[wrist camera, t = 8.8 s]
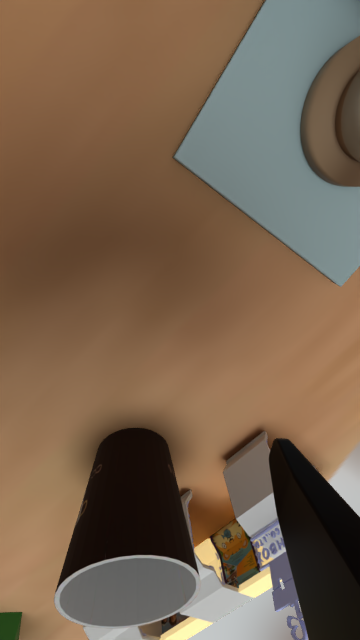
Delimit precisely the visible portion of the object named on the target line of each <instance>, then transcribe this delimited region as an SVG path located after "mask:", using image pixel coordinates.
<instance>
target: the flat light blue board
mask: <svg viewBox="0 0 360 640" xmlns="http://www.w3.org/2000/svg"><path fill="white" fill-rule="evenodd" d="M359 36H360V0H265V1H264V3H263V5H262V6H261V8H260V10H259V11H258V13H257V15H256V17H255V18H254V20H253V22H252V23H251V25H250V27H249V28H248V30H247V32H246V34H245V35H244V37H243V39H242V40H241V42H240V44H239V46H238V47H237V49H236V51H235V52H234V54H233V56H232V57H231V59H230V61H229V63H228V64H227V66H226V68H225V69H224V71H223V73H222V75H221V76H220V78H219V80H218V81H217V83H216V85H215V86H214V88H213V90H212V92H211V93H210V95H209V97H208V98H207V100H206V102H205V104H204V105H203V107H202V109H201V110H200V112H199V114H198V116H197V117H196V119H195V121H194V122H193V124H192V126H191V127H190V129H189V131H188V133H187V134H186V136H185V138H184V139H183V141H182V143H181V145H180V146H179V148H178V150H177V151H176V153H175V155H174V156H173V158H174V159H175V160H177V161H178V162H179V163H180V164H182V165H183V166H184V167H186V168H187V169H188V170H189V171H191V172H192V173H193V174H195V175H196V176H197V177H198V178H200V179H201V180H202V181H204V182H205V183H206V184H207V185H209V186H210V187H211V188H213V189H214V190H215V191H216V192H218V193H219V194H220V195H222V196H223V197H224V198H225V199H227V200H228V201H229V202H231V203H232V204H233V205H234V206H236V207H237V208H238V209H240V210H241V211H242V212H244V213H245V214H246V215H247V216H249V217H250V218H251V219H253V220H254V221H255V222H256V223H258V224H259V225H260V226H262V227H263V228H264V229H265V230H267V231H268V232H269V233H271V234H272V235H273V236H274V237H276V238H277V239H278V240H280V241H281V242H282V243H283V244H285V245H286V246H287V247H289V248H290V249H291V250H292V251H294V252H295V253H296V254H298V255H299V256H300V257H301V258H303V259H304V260H305V261H307V262H308V263H309V264H310V265H312V266H313V267H314V268H316V269H317V270H318V271H319V272H321V273H322V274H323V275H325V276H326V277H327V278H328V279H330V280H331V281H332V282H334V283H335V284H337V285H339V286H340V287H341V286H342V285H343V284H344V283H345V282H346V281H347V279H348V278H349V277H350V276H351V275H352V274H353V273H354V272H355V271H356V269H357V268H358V267H359V266H360V187H343V186H336V185H333V184H330V183H328V182H326V181H324V180H323V179H321V178H320V177H319V176H318V175H317V174H316V173H315V172H314V171H313V170H312V168H311V167H310V165H309V164H308V162H307V160H306V158H305V155H304V152H303V148H302V143H301V132H300V131H301V117H302V111H303V106H304V102H305V99H306V96H307V93H308V91H309V89H310V87H311V84H312V82H313V80H314V79H315V77H316V75H317V74H318V72H319V71H320V69H321V68H322V67H323V65H324V64H325V63H326V62H327V61H328V60H329V58H330V57H331V56H332V55H333V54H335V53H336V52H337V51H338V50H339V49H341V48H342V47H344V46H345V45H347V44H348V43H350V42H351V41H353V40H354V39H356V38H357V37H359Z"/></svg>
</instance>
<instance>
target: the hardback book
mask: <svg viewBox="0 0 360 640" xmlns="http://www.w3.org/2000/svg"><path fill="white" fill-rule="evenodd" d="M21 616H22V612H7V613H0V640H18V639H19V632H20V624H21Z"/></svg>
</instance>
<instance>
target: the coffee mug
mask: <svg viewBox="0 0 360 640" xmlns="http://www.w3.org/2000/svg"><path fill="white" fill-rule="evenodd" d="M200 587H201V580H200V576H199V572H198V567H197V563H196V559H195V555H194V551H193V547H192V543H191V539H190V534H189V530H188V526H187V522H186V518H185V514H184V510H183V506H182V501H181V497H180V493H179V489H178V485H177V481H176V477H175V473H174V468H173V464H172V460H171V456H170V452H169V448H168V444H167V443H166V441H165V440H164V438H163V437H162V436H160V435H159V434H157V433H155V432H153V431H151V430H147V429H142V428H129V429H124V430H120V431H117V432H115V433H113V434H111V435H109V436H108V437H107V438H106V439H104V440H103V442H102V443H101V444H100V446H99V448H98V451H97V454H96V458H95V461H94V464H93V468H92V471H91V474H90V478H89V481H88V485H87V488H86V491H85V495H84V498H83V501H82V505H81V508H80V511H79V515H78V518H77V522H76V525H75V528H74V532H73V535H72V538H71V542H70V545H69V548H68V552H67V555H66V559H65V562H64V565H63V569H62V572H61V575H60V579H59V582H58V585H57V589H56V592H55V597H54V603H55V607H56V609H57V610H58V612H59V613H60V614H61V615H62V616H64V617H65V618H66V619H68V620H70V621H72V622H74V623H77V624H80V625H84V626H88V627H94V628H106V629H117V628H129V627H137V626H141V625H146V624H150V623H154V622H157V621H160V620H163V619H165V618H167V617H170V616H172V615H174V614H176V613H178V612H179V611H181V610H183V609H184V608H185V607H187V606H188V605H189V604H190V603H191V602H192V601H193V600H194V599H195V598H196V597H197V595H198V593H199V591H200Z"/></svg>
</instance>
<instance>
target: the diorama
mask: <svg viewBox="0 0 360 640" xmlns="http://www.w3.org/2000/svg"><path fill="white" fill-rule="evenodd" d="M267 438H268V437H267V433H266V431H264V432H262V433H261V434H260V435H259V436H257V437H256V438H255V439H253V440H252V441H251V442H250V443H248V444H247V445H246V446H245V447H243V448H242V449H241V450H240V451H238V452H237V453H236V454H234V455H233V456H232V457H231V458H229V459H228V460H227V461H226V464H227V465H226V467H225V469H224V471H223V474H224V478H225V481H226V485H227V488H228V492H229V496H230V499H231V503H232V507H233V510H234V514H235V517H236V519H234V520H233V521H232V522H230V523H229V524H227V525H226V526H225V527H223V528H222V529H220V530H219V531H218V532H216V533H215V534H213V535H212V536H211V537H210V539H206V540H205V541H204V542H202V543H201V544H199V545H198V546H197V547H195V548H194V544H193V538H192V537H193V536H192V529H191V522H190V519H189V518H190V515H189V514H188V503H189V501H190V499H191V498H192V491H191V490H189V491H188V492H186V493H185V494H184V495H183V496H181V501H182V506H183V510H184V514H185V518H186V522H187V526H188V530H189V534H190V539H191V543H192V547H193V551H194V555H195V559H196V563H197V567H198V572H199V576H200V580H201V587H200V591H199V593H198V595H197V597H196V598H195V599H194V600H193V601H192V602H191V603H190V604H189V605H188V606H187V607H185V608H184V609H183V610H181V611H179V612H178V613H176V614H174V615H172V616H170V617H167V618H165V619H163V620H160V621H157V622H154V623H150V624H146V625H141V626H137V627H129V628H117V629H106V628H94V627H88V626H84V625H83V629H84V631H85V633H86V635H87V636H88V638H89V640H186V639H188V638H189V637H191V636H193V635H195V634H196V633H198V632H200V631H201V630H203V629H204V628H206V627H207V626H209V625H211V624H212V623H214V622H216V621H218V620H219V619H221V618H222V617H224V616H226V615H227V614H229V613H230V612H232V611H234V610H236V609H237V608H238V607H240V606H242V605H244V604H245V603H247V602H249V601H250V600H252V599H253V598H255V597H257V596H258V595H260V594H262V593H263V592H265V591H266V590H268V589H270V588H271V587H273V590H274V591H273V592H272V595H273V601H274V606H275V611H277V612H278V611H280V610H282V609H284V608H285V607H287V606H288V605H290V606H291V607H293V606H295V610H296V614H297V618H298V619H299V622H300V625H301V628H302V632H303V638H302V639H299V638H297V636H296V634H295V632H296V629H297V627H298V626H297V625H296V626H291V619H293V618H294V619H297V618H295V617H292V616H288V617H287V625H288V627H289V628H292V630H291V635H292V637H293V638H294V640H308V635H307V631H306V626H305V623H304V621H303V620H301V618H303V615H302V612H300V608H299V605H298V601H299V599H298V595H297V592H296V588H295V584H294V580H293V576H292V572H291V568H290V564H289V560H288V557H287V553H286V549H285V545H284V541H283V537H282V533H281V529H280V525H279V521H278V517H277V512H276V507H275V500H274V494H273V487H272V481H271V474H270V467H269V454H270V449H269V447H268V444H267ZM313 466H314V465H313ZM314 468H315V466H314ZM315 469H316V468H315ZM316 470H317V469H316ZM317 471H318V470H317ZM281 581H282V582H283V583H284V587H285V589H283V590H282V589H281V588H280V587H281V585H280V582H281ZM298 619H297V620H298Z"/></svg>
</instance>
